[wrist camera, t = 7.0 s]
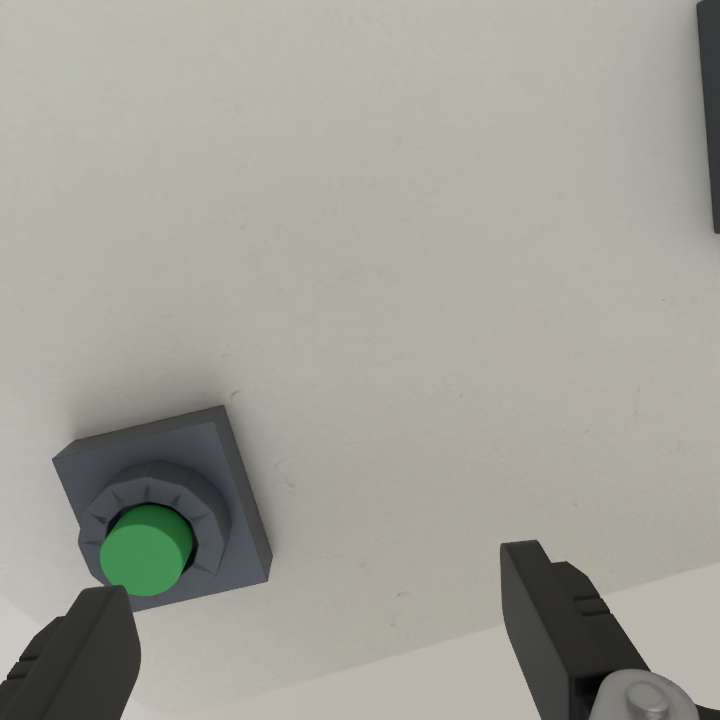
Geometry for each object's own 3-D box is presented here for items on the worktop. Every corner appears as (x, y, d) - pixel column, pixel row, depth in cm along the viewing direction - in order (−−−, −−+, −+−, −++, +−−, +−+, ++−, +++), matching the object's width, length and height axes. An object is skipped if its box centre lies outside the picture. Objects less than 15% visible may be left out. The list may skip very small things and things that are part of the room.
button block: (273, 556, 31) (263, 605, 27) (132, 588, 31) (102, 642, 28) (223, 404, 29) (204, 434, 25) (72, 441, 29) (30, 476, 25)
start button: (203, 563, 27) (193, 587, 25) (130, 580, 27) (115, 604, 25) (179, 496, 26) (167, 516, 24) (103, 514, 26) (86, 535, 25)
